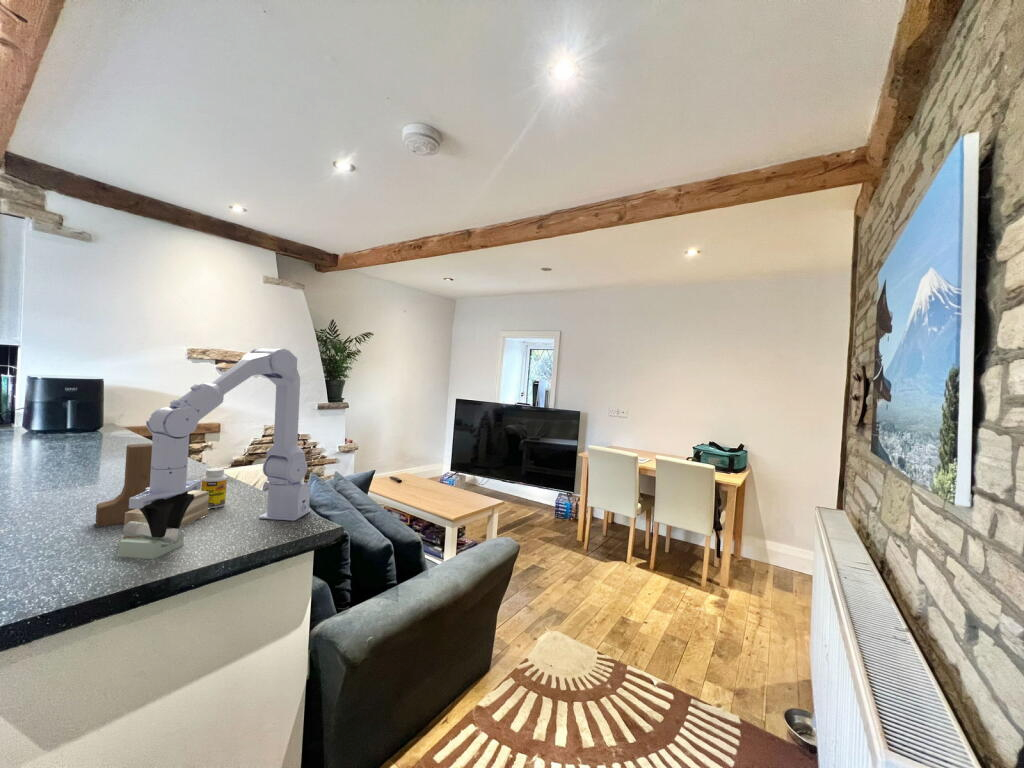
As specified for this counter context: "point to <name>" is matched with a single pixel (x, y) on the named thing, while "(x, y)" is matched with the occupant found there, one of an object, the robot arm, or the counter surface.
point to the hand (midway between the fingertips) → (165, 533)
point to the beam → (192, 513)
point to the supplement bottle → (215, 486)
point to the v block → (146, 548)
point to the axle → (144, 532)
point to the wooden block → (127, 485)
